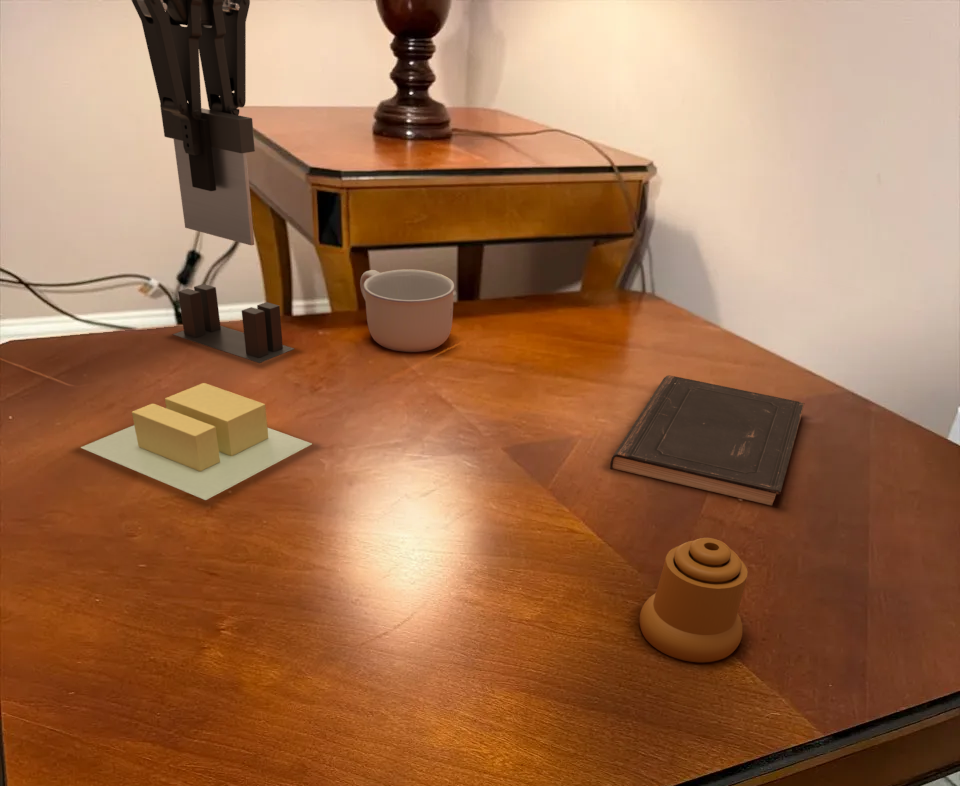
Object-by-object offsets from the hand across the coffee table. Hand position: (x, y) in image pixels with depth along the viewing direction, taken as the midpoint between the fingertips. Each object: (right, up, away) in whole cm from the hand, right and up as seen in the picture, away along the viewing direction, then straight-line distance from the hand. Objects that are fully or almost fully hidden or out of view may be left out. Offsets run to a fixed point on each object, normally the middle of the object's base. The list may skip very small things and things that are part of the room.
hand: (213, 186), depth 93 cm
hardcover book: (+53, -29, -2) cm, 60 cm away
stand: (-1, -14, +11) cm, 18 cm away
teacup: (+19, -12, +16) cm, 27 cm away
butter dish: (+2, -31, -11) cm, 33 cm away
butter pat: (+1, -32, -13) cm, 34 cm away
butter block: (+3, -29, -9) cm, 31 cm away
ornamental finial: (+44, -49, -28) cm, 72 cm away
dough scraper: (0, -4, +3) cm, 5 cm away
